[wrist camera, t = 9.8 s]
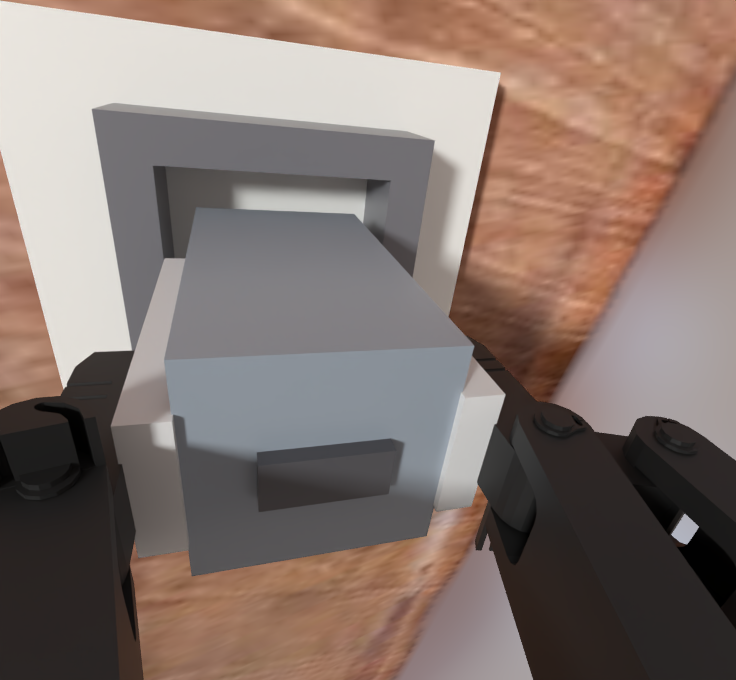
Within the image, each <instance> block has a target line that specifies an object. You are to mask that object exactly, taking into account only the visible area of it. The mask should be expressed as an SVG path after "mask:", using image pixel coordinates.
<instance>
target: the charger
mask: <svg viewBox="0 0 736 680" xmlns="http://www.w3.org/2000/svg"><path fill="white" fill-rule="evenodd" d="M473 349H474V345H473V344H472V343H471V341H470V340H469V339H468V338H467V337H466V336H465V335H464V334H463V333H462V332H461V330H460V329H459V328H458V327H457V326H456V325H455V324H454V323H453V322H452V321H451V319H450V318H449V317H448V316H447V315H446V314H445V313H444V312H443V311H442V310H441V309H440V307H439V306H438V305H437V304H436V303H435V302H434V301H433V300H432V299H431V298H430V296H429V295H428V294H427V293H426V292H425V291H424V290H423V289H422V288H421V287H420V286H419V284H418V283H417V282H416V281H415V280H414V279H413V278H412V277H411V276H410V275H409V273H408V272H407V271H406V270H405V269H404V268H403V267H402V266H401V265H400V264H399V262H398V261H397V260H396V259H395V258H394V257H393V256H392V255H391V254H390V253H389V252H388V250H387V249H386V248H385V247H384V246H383V245H382V244H381V243H380V242H379V241H378V239H377V238H376V237H375V236H374V235H373V234H372V233H371V232H370V231H369V230H368V228H367V227H366V226H365V225H364V224H363V223H362V222H361V221H360V220H359V219H358V218H357V216H356V215H355V214H346V213H321V212H297V211H272V210H248V209H223V208H199V207H196V211H195V215H194V220H193V225H192V230H191V234H190V239H189V244H188V248H187V253H186V258H185V263H184V267H183V272H182V277H181V282H180V286H179V291H178V296H177V301H176V305H175V310H174V315H173V320H172V324H171V329H170V334H169V338H168V343H167V348H166V353H165V357H164V365H165V372H166V380H167V388H168V396H169V403H170V411H171V415H172V414H173V418H174V426H175V434H176V441H177V449H178V457H179V465H180V473H181V481H182V489H183V497H184V505H185V513H186V521H187V529H188V537H189V558H190V566H191V574H192V576H196V575H202V574H208V573H214V572H219V571H225V570H231V569H237V568H243V567H249V566H254V565H260V564H266V563H272V562H278V561H284V560H289V559H295V558H301V557H307V556H313V555H319V554H324V553H330V552H336V551H342V550H348V549H354V548H359V547H365V546H371V545H377V544H383V543H389V542H394V541H400V540H406V539H412V538H418V537H424V536H427V532H428V528H429V524H430V520H431V516H432V513H433V509H434V506H433V503H434V499H435V495H436V491H437V487H438V483H439V479H440V475H441V471H442V467H443V463H444V459H445V455H446V451H447V447H448V443H449V439H450V435H451V431H452V427H453V423H454V419H455V415H456V411H457V407H458V403H459V399H460V395H461V392H463V389H464V385H465V381H466V377H467V373H468V369H469V365H470V361H471V357H472V353H473Z"/></svg>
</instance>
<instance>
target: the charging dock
mask: <svg viewBox="0 0 736 680" xmlns="http://www.w3.org/2000/svg"><path fill="white" fill-rule="evenodd" d="M500 74H501V73H500V72H493V71H486V70H479V69H472V68H465V67H458V66H451V65H444V64H437V63H430V62H423V61H416V60H409V59H402V58H395V57H388V56H381V55H374V54H367V53H360V52H353V51H347V50H340V49H333V48H326V47H319V46H312V45H305V44H298V43H291V42H284V41H277V40H270V39H263V38H256V37H249V36H242V35H235V34H228V33H221V32H214V31H207V30H200V29H193V28H186V27H179V26H173V25H166V24H159V23H152V22H145V21H138V20H131V19H124V18H117V17H110V16H103V15H96V14H89V13H82V12H75V11H68V10H61V9H54V8H47V7H40V6H33V5H26V4H19V3H12V2H5V1H0V150H1V154H2V158H3V161H4V165H5V169H6V173H7V177H8V180H9V184H10V188H11V192H12V196H13V199H14V203H15V207H16V211H17V215H18V218H19V222H20V226H21V230H22V233H23V237H24V241H25V245H26V249H27V252H28V256H29V260H30V264H31V268H32V271H33V275H34V279H35V283H36V287H37V290H38V294H39V298H40V302H41V306H42V309H43V313H44V317H45V321H46V324H47V328H48V332H49V336H50V340H51V343H52V347H53V351H54V355H55V359H56V362H57V366H58V370H59V374H60V378H61V381H62V385H63V389H64V388H65V387H67V382H68V380H69V378H70V376H71V374H72V372H73V370H74V368H75V367H76V366H77V365H78V364H79V363H81V362H82V361H83V360H85V359H86V358H87V357H89V356H90V355H91V354H92V353H94V352H107V351H132V350H135V349H136V346H137V343H138V340H139V336H140V333H141V330H142V327H143V324H144V321H145V318H146V315H147V312H148V309H149V305H150V302H151V299H152V296H153V293H154V290H155V287H156V284H157V281H158V277H159V274H160V271H161V268H162V265H163V262H164V259H165V258H186V253H187V248H188V244H189V239H190V234H191V230H192V225H193V220H194V215H195V211H196V207H199V208H223V209H248V210H272V211H297V212H321V213H346V214H355V215H356V216H357V218H358V219H359V220H360V221H361V222H362V223H363V224H364V225H365V226H366V227H367V228H368V230H369V231H370V232H371V233H372V234H373V235H374V236H375V237H376V238H377V239H378V241H379V242H380V243H381V244H382V245H383V246H384V247H385V248H386V249H387V250H388V252H389V253H390V254H391V255H392V256H393V257H394V258H395V259H396V260H397V261H398V262H399V264H400V265H401V266H402V267H403V268H404V269H405V270H406V271H407V272H408V273H409V275H410V276H411V277H412V278H413V279H414V280H415V281H416V282H417V283H418V284H419V286H420V287H421V288H422V289H423V290H424V291H425V292H426V293H427V294H428V295H429V296H430V298H431V299H432V300H433V301H434V302H435V303H436V304H437V305H438V306H439V307H440V309H441V310H442V311H443V312H444V313H445V314H446V315H447V316H448V317H449V313H450V308H451V304H452V299H453V294H454V290H455V285H456V280H457V276H458V271H459V266H460V262H461V257H462V252H463V248H464V243H465V238H466V233H467V229H468V224H469V219H470V215H471V210H472V205H473V201H474V196H475V191H476V187H477V182H478V177H479V173H480V168H481V163H482V158H483V154H484V149H485V144H486V140H487V135H488V130H489V126H490V121H491V116H492V112H493V107H494V102H495V98H496V93H497V88H498V83H499V79H500Z"/></svg>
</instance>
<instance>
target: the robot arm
mask: <svg viewBox="0 0 736 680" xmlns="http://www.w3.org/2000/svg"><path fill="white" fill-rule="evenodd" d="M184 263H185V258H165V259H164V262H163V265H162V268H161V271H160V274H159V277H158V281H157V284H156V287H155V290H154V293H153V296H152V299H151V302H150V305H149V309H148V312H147V315H146V318H145V321H144V324H143V327H142V330H141V333H140V336H139V340H138V343H137V346H136V349H135V350H132V351H107V352H94V353H92V354H91V355H90V356H89V357H87V358H86V359H85V360H83V361H82V362H81V363H79V364H78V365H77V366H76V367H75V368H74V370H73V372H72V374H71V376H70V378H69V380H68V382H67V387H65V388H64V390H63V392H62V394H61V396H55V397H42V398H34V399H31V400H27V401H23V402H19V403H15V404H12V405H10V406H7V407H5V408H3V409H1V410H0V680H143V670H142V660H141V650H140V640H139V629H138V619H137V609H136V599H135V589H134V582H133V577H132V573H131V569H130V560H131V555H132V549H133V544H134V539H135V544H136V549H137V553H138V558H142V557H148V556H155V555H161V554H168V553H174V552H180V551H187V550H189V537H188V529H187V521H186V513H185V505H184V497H183V489H182V481H181V473H180V465H179V457H178V449H177V441H176V434H175V426H174V418H173V414H172V415H171V411H170V403H169V396H168V388H167V380H166V372H165V365H164V357H165V353H166V348H167V343H168V338H169V334H170V329H171V324H172V320H173V315H174V310H175V305H176V301H177V296H178V291H179V286H180V282H181V277H182V272H183V267H184ZM466 337H467V338H468V339H469V340H470V341H471V343H472V344H473V345H474V349H473V353H472V357H471V361H470V365H469V369H468V373H467V377H466V381H465V385H464V389H463V392H461V395H460V399H459V403H458V407H457V411H456V415H455V419H454V423H453V427H452V431H451V435H450V439H449V443H448V447H447V451H446V455H445V459H444V463H443V467H442V471H441V475H440V479H439V483H438V487H437V491H436V495H435V499H434V503H433V506H434V508H435V510H436V512H438V511H444V510H451V509H457V508H463V507H470V506H471V505H472V502H473V499H474V495H475V492H476V489H477V486H478V485H479V487H480V488H481V490H482V491H483V493H484V495H485V496H486V498H487V500H488V503H487V506H486V509H485V512H484V515H483V518H482V521H481V524H480V527H479V530H478V533H477V536H476V539H475V545H476V550H482V547H483V544H484V541H485V538H486V535H487V533H488V536H489V539H490V542H491V543H490V547H489V550H490V551H493V552H494V555H495V558H496V562H497V565H498V568H499V571H500V574H501V578H502V581H503V584H504V587H505V590H506V594H507V597H508V600H509V603H510V606H511V610H512V613H513V616H514V619H515V622H516V626H517V629H518V632H519V635H520V639H521V642H522V645H523V648H524V651H525V655H526V658H527V661H528V664H529V667H530V671H531V674H532V677H533V680H736V461H735V460H734V459H733V458H731V457H730V456H728V454H726V453H725V452H723V451H722V450H721V449H720V448H718V447H717V446H715V445H714V444H713V443H712V442H710V441H709V440H708V439H706V438H705V437H704V436H702V435H700V434H699V433H697V432H696V431H694V430H692V429H691V428H689V427H687V426H685V425H683V424H680V423H679V422H677V421H675V420H672V419H667V418H663V417H655V416H645V417H642V418H639V419H637V420H636V422H635V424H634V426H633V428H632V430H631V432H630V434H629V436H621V435H614V434H606V433H599V432H594V430H593V429H592V427H591V426H590V425H589V424H588V423H587V422H586V421H585V420H584V419H583V418H582V417H580V416H579V415H577V414H576V413H574V412H572V411H571V410H569V409H566V408H564V407H561V406H559V405H556V404H552V403H546V402H537V401H536V400H535V399H534V398H533V397H532V396H531V395H530V394H529V393H528V392H527V391H526V390H525V388H524V387H523V386H522V385H521V384H520V383H519V382H518V381H517V380H516V379H515V378H514V377H513V376H512V375H511V374H510V373H509V372H508V371H505V367H504V366H503V365H502V364H501V363H500V362H499V361H498V360H496V358H495V357H494V356H493V355H492V354H491V352H490V351H489V350H488V349H487V348H486V347H485V346H484V345H482V344H480V343H479V342H477V341H475V340H473V339H472V338H470V337H468V336H466ZM684 514H686V515H688V517H689V518H691V519H692V520H693V521H694V522H695V523H696V524H697V525H698V526H699V528H698V530H697V532H696V533H695V534H694V536H693V537H692V539H691V540H690V542H689V543H688V544H687V545H686V544H683V543H680V542H679V541H678V540H676V539H675V538H674V537H673V536H672V535H671V534H672V532H673V531H674V529H675V528H676V526H677V524H678V523H679V521H680V520H681V518H682V517H683V515H684Z"/></svg>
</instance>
